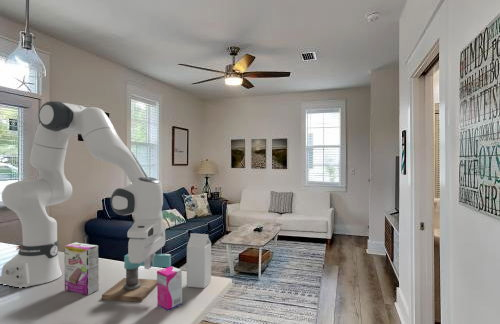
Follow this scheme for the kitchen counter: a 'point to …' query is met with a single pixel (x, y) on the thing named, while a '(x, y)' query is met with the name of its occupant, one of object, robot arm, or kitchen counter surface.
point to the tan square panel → (130, 288)
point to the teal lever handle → (159, 261)
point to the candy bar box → (81, 268)
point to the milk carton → (198, 260)
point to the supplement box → (169, 288)
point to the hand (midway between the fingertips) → (148, 267)
